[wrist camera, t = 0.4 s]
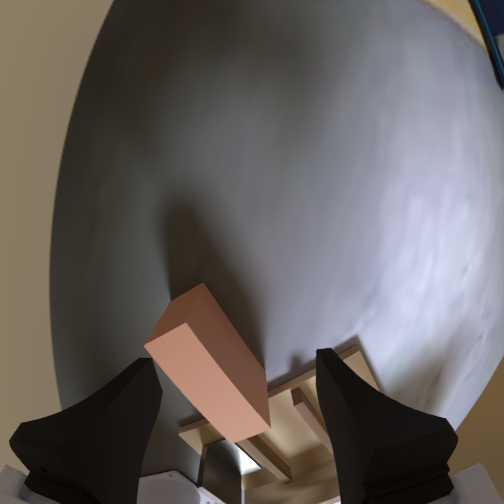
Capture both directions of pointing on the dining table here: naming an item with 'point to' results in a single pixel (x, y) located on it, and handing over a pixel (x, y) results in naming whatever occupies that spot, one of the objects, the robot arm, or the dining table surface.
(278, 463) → the beige slotted rack
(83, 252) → the dining table surface
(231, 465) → the bookend
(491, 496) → the robot arm
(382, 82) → the dining table surface
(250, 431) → the slim book
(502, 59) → the book
